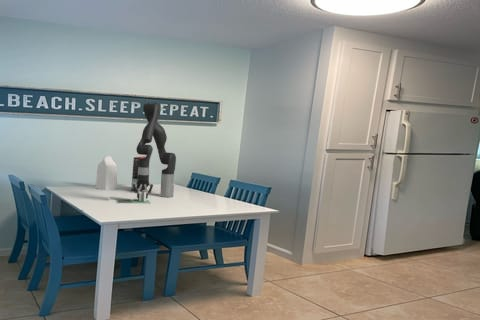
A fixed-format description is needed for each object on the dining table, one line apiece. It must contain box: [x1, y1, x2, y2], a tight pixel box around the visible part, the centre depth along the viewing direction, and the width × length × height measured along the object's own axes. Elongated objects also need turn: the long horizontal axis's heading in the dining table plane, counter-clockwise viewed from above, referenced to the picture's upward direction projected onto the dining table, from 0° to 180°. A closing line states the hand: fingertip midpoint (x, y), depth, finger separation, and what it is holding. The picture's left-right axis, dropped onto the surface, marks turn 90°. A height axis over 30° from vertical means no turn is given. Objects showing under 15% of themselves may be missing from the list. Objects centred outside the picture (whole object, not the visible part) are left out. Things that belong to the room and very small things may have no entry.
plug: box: [139, 190, 147, 201], centre depth 307 cm, size 4×4×6 cm
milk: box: [95, 155, 118, 191], centre depth 362 cm, size 12×12×26 cm
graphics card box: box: [130, 155, 146, 192], centre depth 364 cm, size 17×7×27 cm, turn 172°
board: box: [115, 198, 151, 205], centre depth 305 cm, size 22×14×2 cm, turn 109°
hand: (142, 198), depth 307 cm, fingers closed on plug, 4 cm apart
